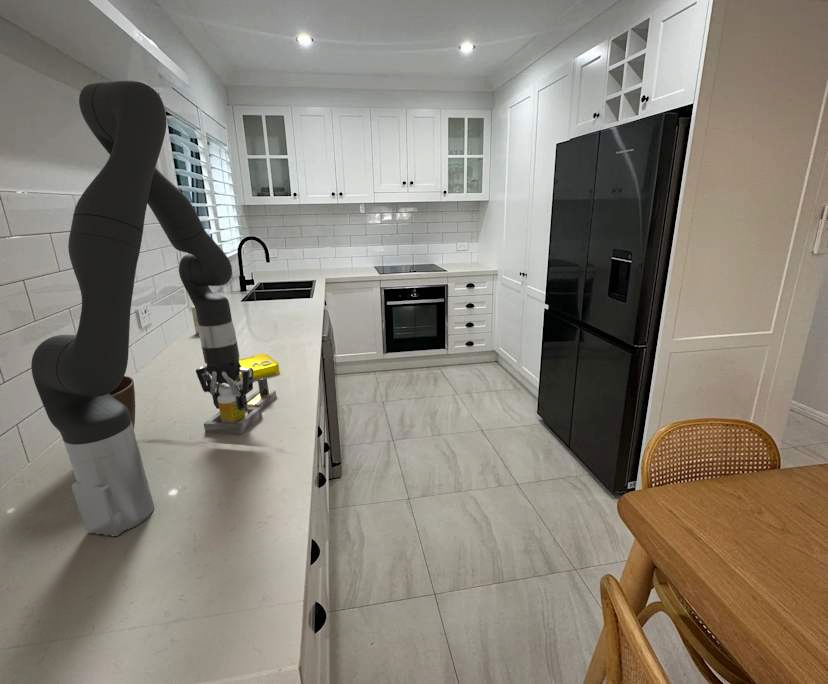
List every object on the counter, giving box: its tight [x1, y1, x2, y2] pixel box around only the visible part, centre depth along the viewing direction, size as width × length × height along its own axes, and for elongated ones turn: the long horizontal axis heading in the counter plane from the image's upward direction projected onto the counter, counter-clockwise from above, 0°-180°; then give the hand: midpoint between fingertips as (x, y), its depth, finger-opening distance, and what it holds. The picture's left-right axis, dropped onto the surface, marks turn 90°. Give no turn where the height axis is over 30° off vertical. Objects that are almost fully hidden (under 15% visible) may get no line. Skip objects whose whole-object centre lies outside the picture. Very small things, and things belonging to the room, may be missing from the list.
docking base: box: [203, 389, 277, 436], centre depth 110 cm, size 24×13×3 cm, turn 169°
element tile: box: [234, 352, 281, 383], centre depth 138 cm, size 15×15×5 cm
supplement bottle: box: [217, 383, 246, 423], centre depth 103 cm, size 5×5×10 cm
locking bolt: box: [246, 376, 271, 410], centre depth 114 cm, size 8×2×6 cm, turn 169°
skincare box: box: [190, 305, 199, 334], centre depth 187 cm, size 6×4×12 cm
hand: (231, 407), depth 103 cm, fingers closed on supplement bottle, 5 cm apart
